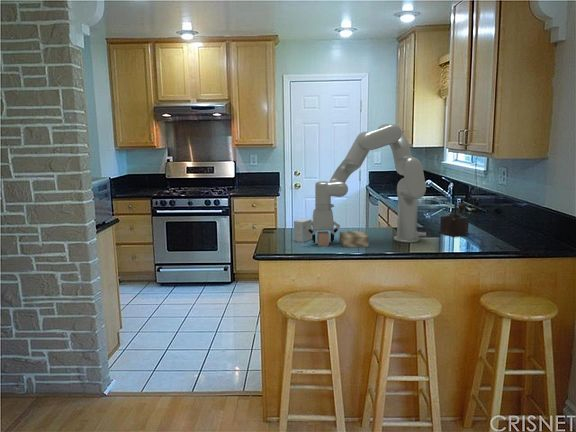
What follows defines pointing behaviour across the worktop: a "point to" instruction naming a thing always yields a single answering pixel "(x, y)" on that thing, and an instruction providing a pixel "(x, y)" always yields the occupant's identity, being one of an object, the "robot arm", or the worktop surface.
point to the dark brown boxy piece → (455, 223)
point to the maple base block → (354, 239)
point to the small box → (302, 230)
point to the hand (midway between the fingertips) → (323, 241)
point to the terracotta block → (323, 238)
